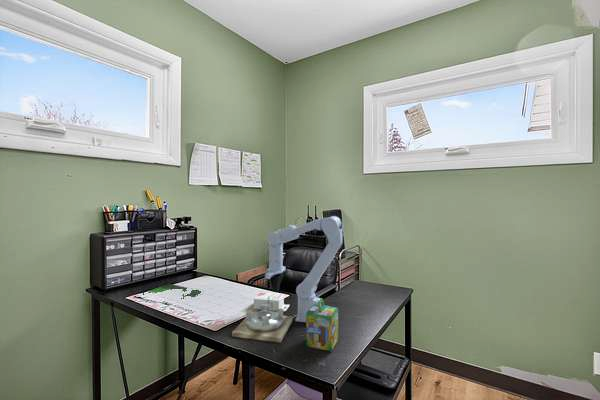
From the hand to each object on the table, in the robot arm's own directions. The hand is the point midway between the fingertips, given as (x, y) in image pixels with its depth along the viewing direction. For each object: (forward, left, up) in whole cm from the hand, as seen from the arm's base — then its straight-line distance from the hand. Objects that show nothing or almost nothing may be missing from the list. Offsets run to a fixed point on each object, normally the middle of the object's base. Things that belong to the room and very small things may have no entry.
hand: (275, 291), depth 121 cm
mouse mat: (+58, -10, -10) cm, 60 cm away
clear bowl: (0, +14, -8) cm, 16 cm away
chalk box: (-23, +20, -10) cm, 32 cm away
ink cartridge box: (+11, -6, -7) cm, 14 cm away
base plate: (0, +14, -9) cm, 17 cm away
